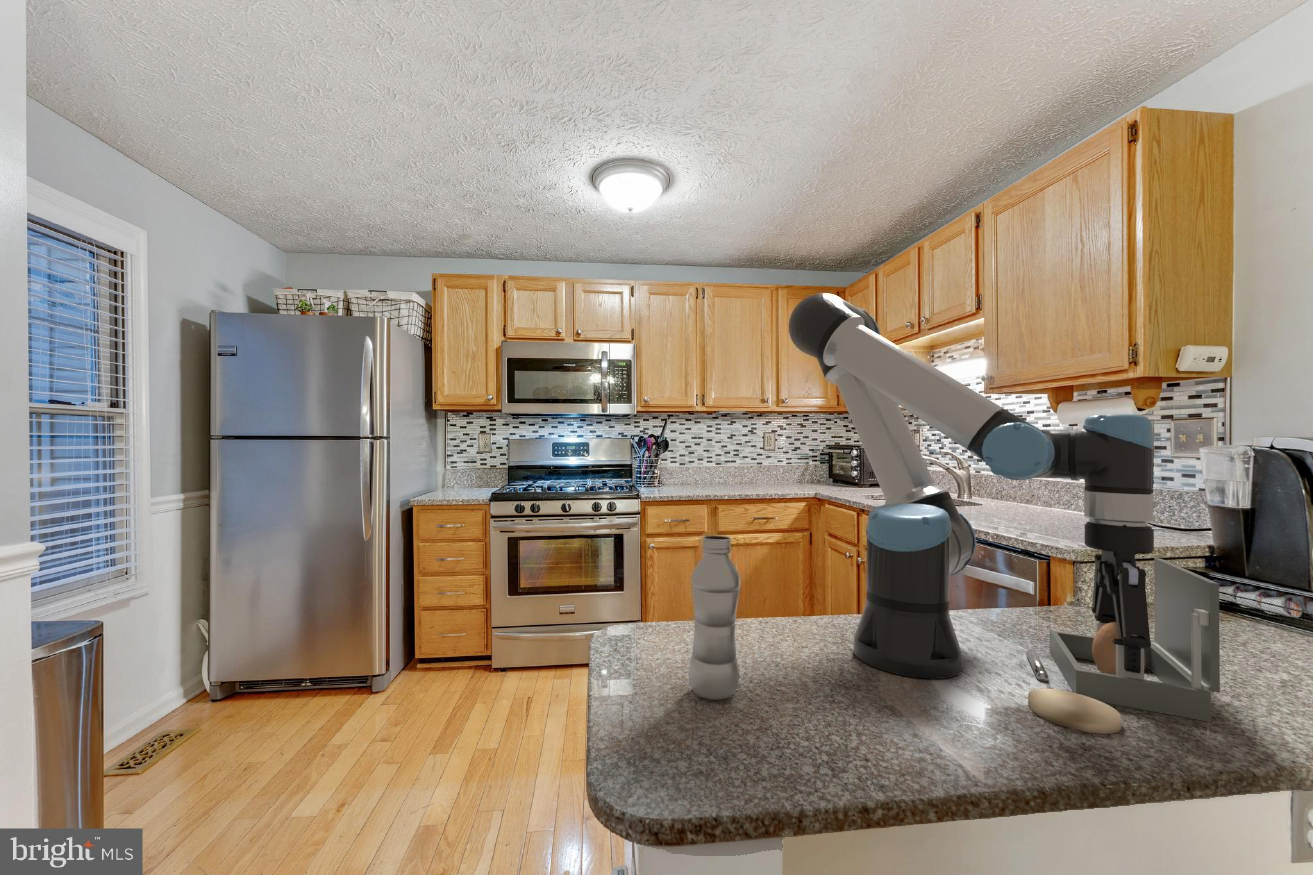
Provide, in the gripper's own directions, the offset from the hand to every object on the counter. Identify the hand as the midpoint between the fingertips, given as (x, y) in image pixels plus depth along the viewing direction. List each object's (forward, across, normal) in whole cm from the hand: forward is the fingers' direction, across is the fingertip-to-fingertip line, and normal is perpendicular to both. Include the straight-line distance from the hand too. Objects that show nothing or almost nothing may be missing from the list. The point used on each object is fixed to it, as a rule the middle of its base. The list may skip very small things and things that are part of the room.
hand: (1118, 680), depth 76 cm
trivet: (0, -16, +8) cm, 18 cm away
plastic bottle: (0, -34, +48) cm, 59 cm away
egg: (0, 0, 0) cm, 0 cm away
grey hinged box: (0, 0, 0) cm, 0 cm away
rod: (0, 0, +10) cm, 10 cm away
